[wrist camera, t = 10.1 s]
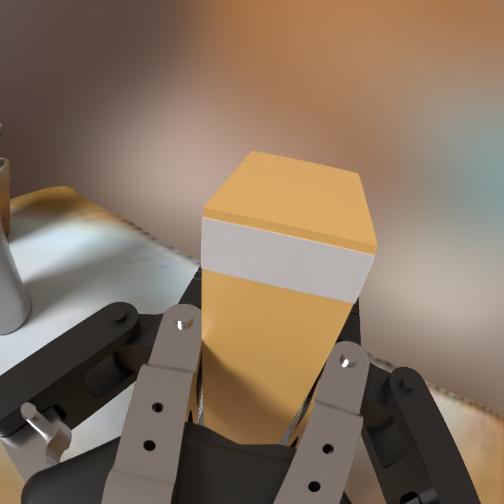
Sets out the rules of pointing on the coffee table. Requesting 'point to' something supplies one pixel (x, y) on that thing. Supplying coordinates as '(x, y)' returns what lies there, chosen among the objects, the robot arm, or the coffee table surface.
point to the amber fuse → (276, 288)
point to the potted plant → (4, 192)
